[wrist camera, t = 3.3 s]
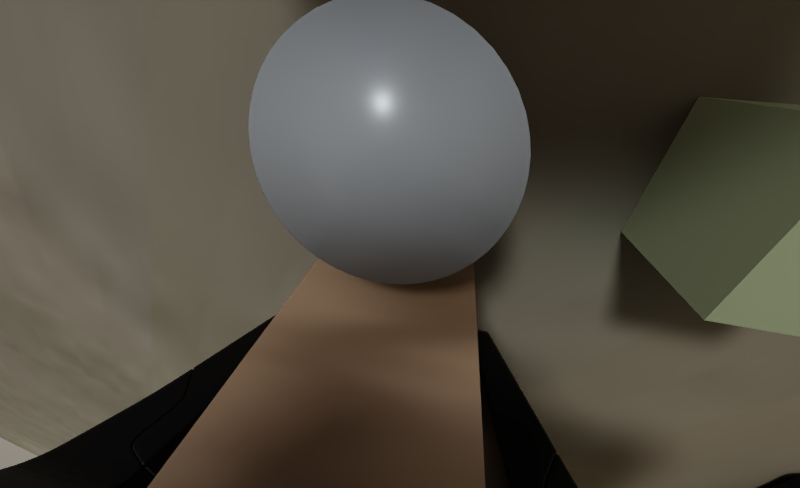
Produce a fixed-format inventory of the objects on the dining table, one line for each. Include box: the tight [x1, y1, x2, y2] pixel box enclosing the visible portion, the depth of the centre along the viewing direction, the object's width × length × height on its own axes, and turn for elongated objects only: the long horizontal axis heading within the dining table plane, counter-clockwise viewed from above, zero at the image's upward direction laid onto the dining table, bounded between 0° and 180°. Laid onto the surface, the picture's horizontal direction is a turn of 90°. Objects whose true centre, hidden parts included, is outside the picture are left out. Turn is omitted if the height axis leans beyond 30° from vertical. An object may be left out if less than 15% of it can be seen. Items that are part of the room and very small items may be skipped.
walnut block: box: [147, 258, 485, 488], centre depth 7 cm, size 4×4×8 cm
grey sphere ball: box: [248, 0, 531, 284], centre depth 6 cm, size 4×4×4 cm
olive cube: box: [621, 97, 800, 337], centre depth 6 cm, size 4×4×4 cm
